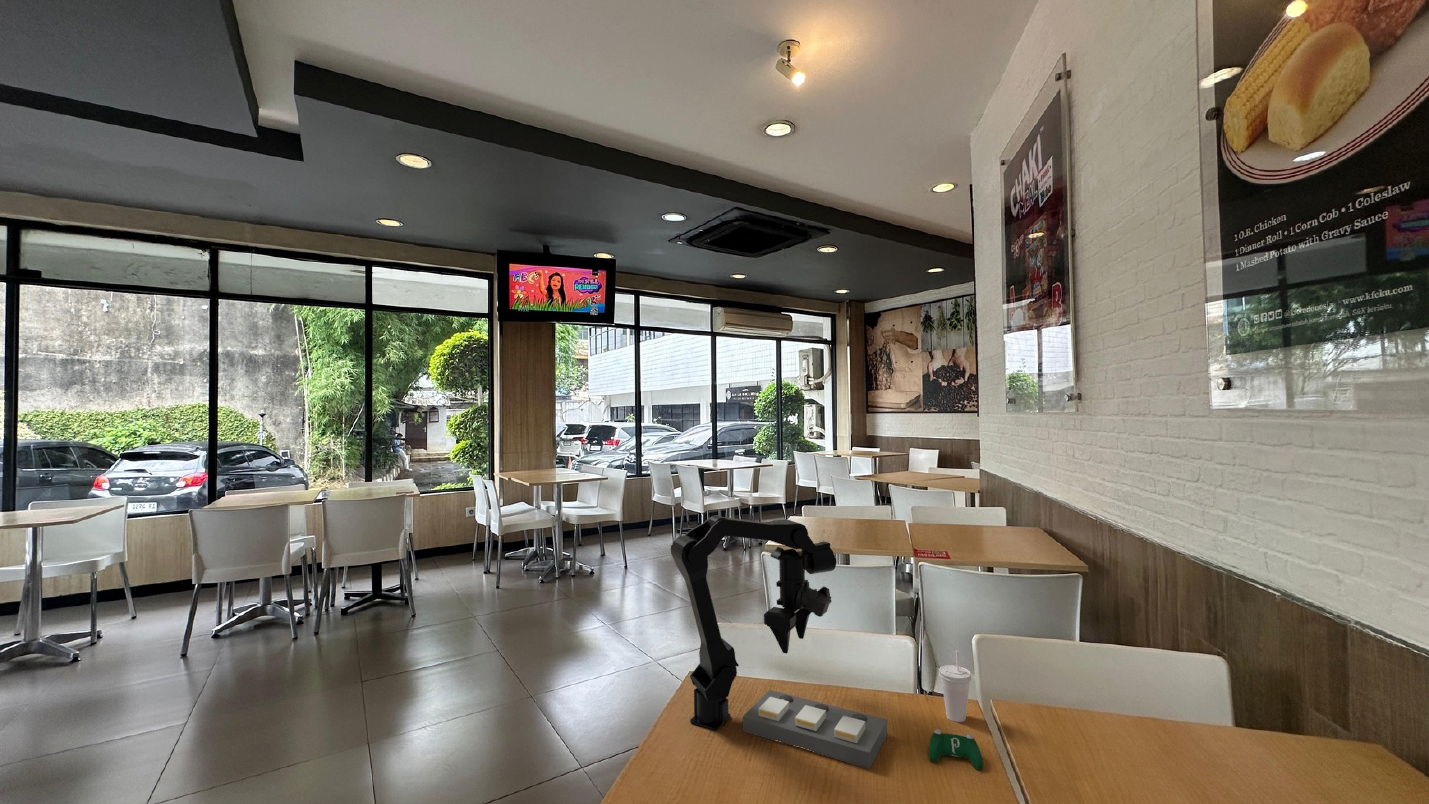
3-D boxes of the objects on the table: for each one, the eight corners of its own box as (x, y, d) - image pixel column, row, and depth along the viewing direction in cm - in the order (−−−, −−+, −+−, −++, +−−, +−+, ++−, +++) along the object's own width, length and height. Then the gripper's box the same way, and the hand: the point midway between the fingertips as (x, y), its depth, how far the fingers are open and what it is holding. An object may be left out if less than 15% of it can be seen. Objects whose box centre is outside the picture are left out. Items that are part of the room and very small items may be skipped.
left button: (758, 716, 119) (758, 708, 119) (770, 703, 124) (770, 696, 124) (778, 721, 116) (777, 714, 116) (789, 708, 121) (789, 701, 121)
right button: (833, 737, 111) (833, 729, 111) (843, 723, 116) (843, 715, 116) (856, 743, 108) (856, 735, 108) (865, 728, 113) (865, 721, 113)
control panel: (742, 731, 119) (742, 715, 119) (769, 703, 130) (769, 688, 130) (869, 769, 106) (869, 751, 106) (887, 734, 117) (887, 718, 117)
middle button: (794, 725, 115) (794, 717, 115) (805, 712, 120) (805, 705, 120) (816, 731, 112) (815, 723, 112) (826, 717, 117) (825, 710, 117)
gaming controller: (982, 775, 106) (979, 739, 111) (984, 769, 104) (980, 732, 108) (929, 766, 109) (927, 732, 113) (929, 760, 107) (927, 725, 111)
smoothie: (975, 726, 119) (974, 658, 119) (942, 723, 120) (941, 656, 121) (968, 710, 125) (967, 645, 126) (937, 708, 127) (936, 643, 127)
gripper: (810, 593, 120) (812, 669, 120) (839, 570, 136) (841, 637, 136) (762, 585, 126) (763, 658, 125) (795, 565, 142) (796, 629, 141)
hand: (793, 645), depth 132 cm, fingers open, 9 cm apart
